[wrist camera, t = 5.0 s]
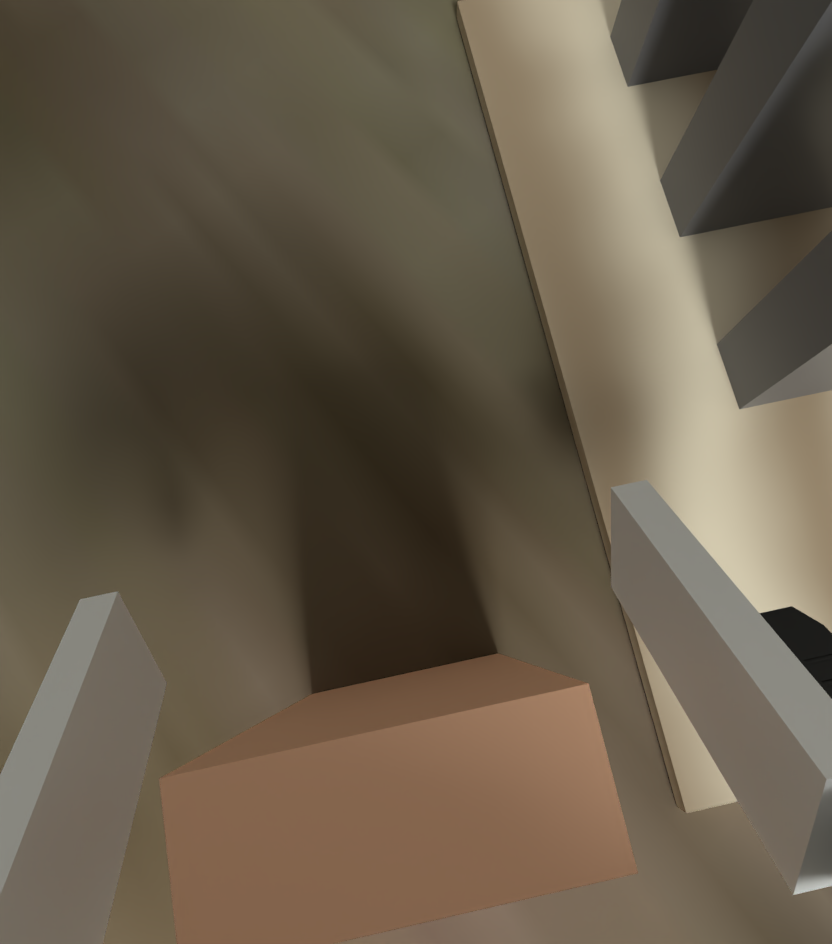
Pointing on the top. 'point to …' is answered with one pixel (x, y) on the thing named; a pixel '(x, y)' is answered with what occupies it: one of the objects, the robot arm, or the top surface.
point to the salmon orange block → (394, 807)
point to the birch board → (653, 322)
